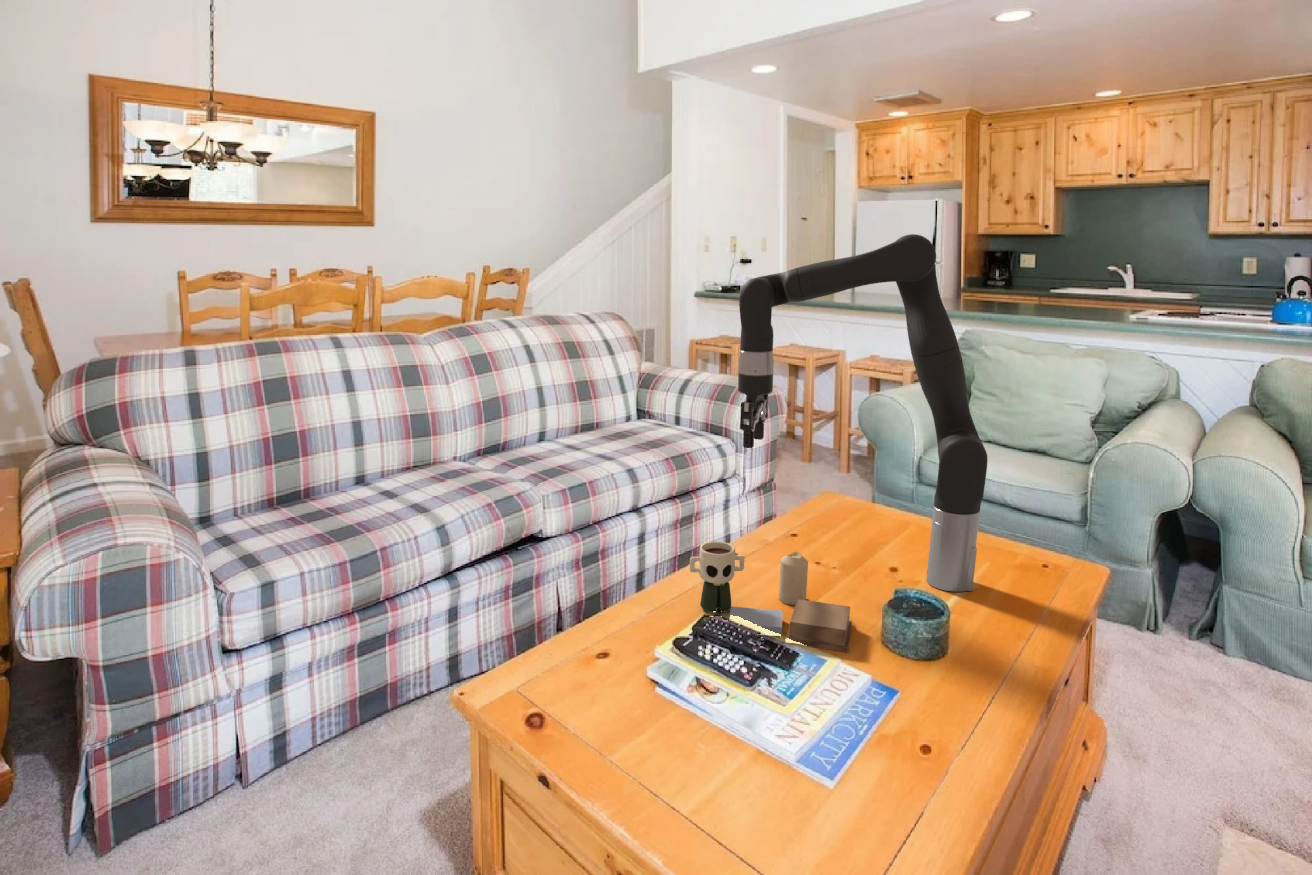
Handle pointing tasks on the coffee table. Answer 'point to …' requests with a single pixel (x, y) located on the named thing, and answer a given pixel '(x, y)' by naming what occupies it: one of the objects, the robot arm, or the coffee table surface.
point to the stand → (820, 625)
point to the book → (760, 617)
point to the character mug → (716, 574)
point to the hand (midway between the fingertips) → (753, 443)
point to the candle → (793, 578)
